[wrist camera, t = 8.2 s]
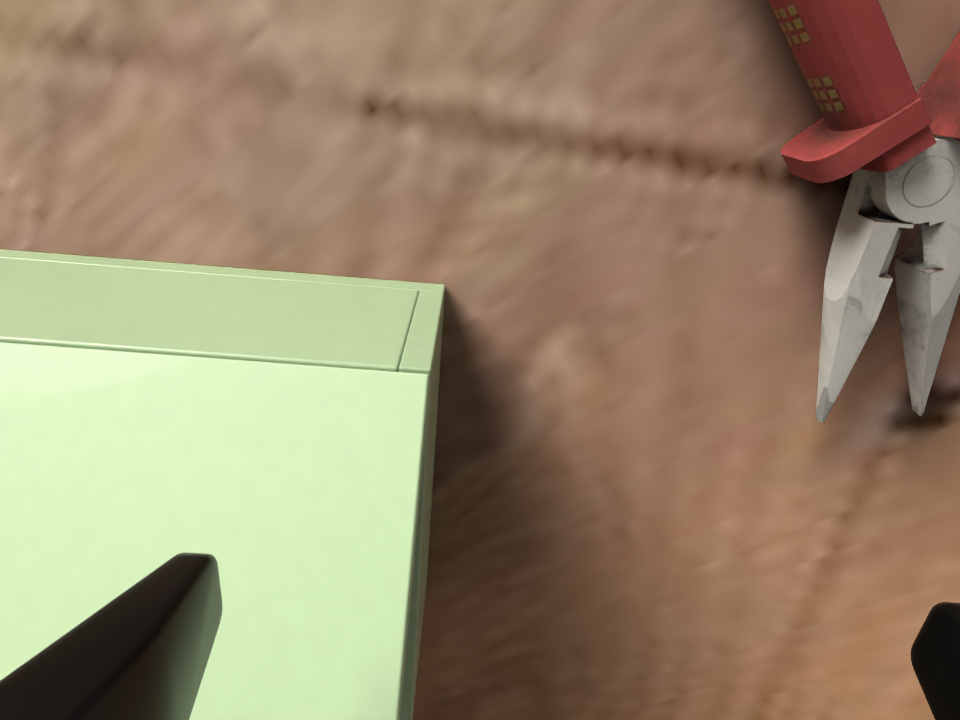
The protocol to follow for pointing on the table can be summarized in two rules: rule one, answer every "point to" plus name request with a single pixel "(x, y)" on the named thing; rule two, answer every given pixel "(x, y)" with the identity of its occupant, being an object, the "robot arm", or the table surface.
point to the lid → (219, 514)
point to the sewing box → (239, 336)
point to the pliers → (879, 184)
